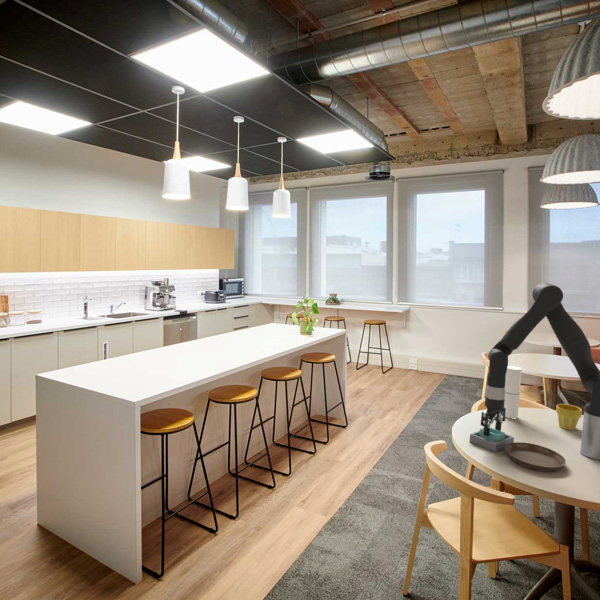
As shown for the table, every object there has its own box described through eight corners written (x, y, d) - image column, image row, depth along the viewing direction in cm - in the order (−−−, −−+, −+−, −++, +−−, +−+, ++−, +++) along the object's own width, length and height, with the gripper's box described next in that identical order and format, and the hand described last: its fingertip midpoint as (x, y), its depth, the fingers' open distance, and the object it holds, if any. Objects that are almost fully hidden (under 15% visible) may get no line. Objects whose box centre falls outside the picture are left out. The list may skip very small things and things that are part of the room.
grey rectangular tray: (487, 435, 190) (488, 427, 189) (513, 445, 180) (514, 437, 180) (469, 441, 182) (470, 434, 182) (495, 452, 172) (495, 444, 172)
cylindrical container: (506, 419, 211) (510, 369, 208) (499, 413, 218) (503, 365, 216) (520, 419, 211) (524, 369, 209) (512, 414, 218) (516, 366, 216)
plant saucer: (572, 463, 166) (572, 455, 165) (555, 480, 152) (555, 471, 151) (516, 445, 181) (516, 437, 180) (496, 459, 167) (496, 451, 166)
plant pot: (583, 433, 196) (585, 412, 195) (558, 429, 199) (560, 409, 198) (575, 424, 206) (577, 405, 205) (551, 422, 209) (553, 402, 208)
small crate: (486, 437, 186) (487, 426, 185) (504, 444, 179) (504, 432, 179) (479, 440, 183) (479, 428, 182) (496, 447, 176) (497, 435, 176)
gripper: (496, 391, 186) (493, 427, 188) (476, 396, 178) (474, 433, 180) (512, 396, 180) (509, 433, 181) (493, 401, 172) (490, 440, 173)
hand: (492, 433), depth 181 cm, fingers open, 8 cm apart
